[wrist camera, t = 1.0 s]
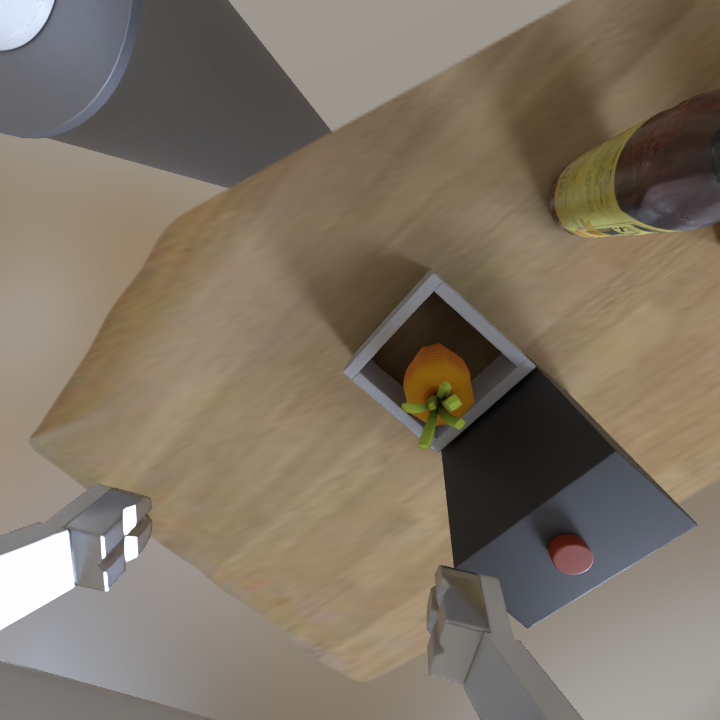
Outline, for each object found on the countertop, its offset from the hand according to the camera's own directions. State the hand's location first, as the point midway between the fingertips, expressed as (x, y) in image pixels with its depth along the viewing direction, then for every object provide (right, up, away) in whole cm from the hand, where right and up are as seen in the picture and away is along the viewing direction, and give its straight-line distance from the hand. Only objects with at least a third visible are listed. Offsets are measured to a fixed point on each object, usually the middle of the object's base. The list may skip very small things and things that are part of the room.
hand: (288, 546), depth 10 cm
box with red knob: (+11, +4, +26) cm, 28 cm away
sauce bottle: (+20, +18, +20) cm, 34 cm away
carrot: (+9, +6, +26) cm, 28 cm away
